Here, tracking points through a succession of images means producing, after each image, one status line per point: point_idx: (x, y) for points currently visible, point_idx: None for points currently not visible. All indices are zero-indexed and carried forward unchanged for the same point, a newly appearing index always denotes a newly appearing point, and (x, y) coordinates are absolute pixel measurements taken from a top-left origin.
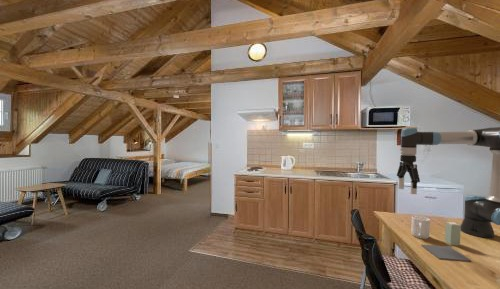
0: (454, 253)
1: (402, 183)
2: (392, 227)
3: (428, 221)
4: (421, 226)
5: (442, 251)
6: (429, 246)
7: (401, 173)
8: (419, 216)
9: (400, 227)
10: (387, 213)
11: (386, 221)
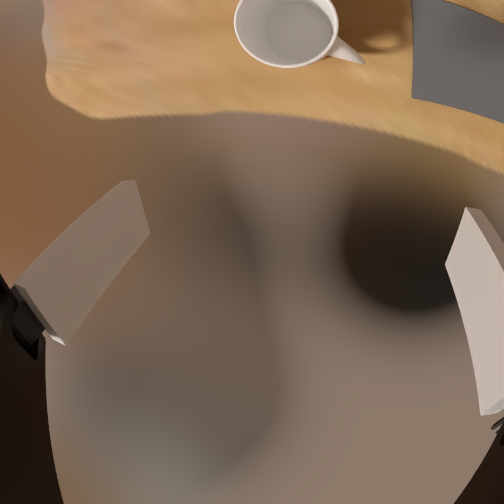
0: (471, 31)
1: (93, 243)
2: (211, 112)
3: (331, 2)
4: (359, 57)
5: (464, 62)
6: (427, 77)
7: (44, 434)
8: (239, 11)
9: (200, 75)
10: (53, 88)
11: (141, 113)
